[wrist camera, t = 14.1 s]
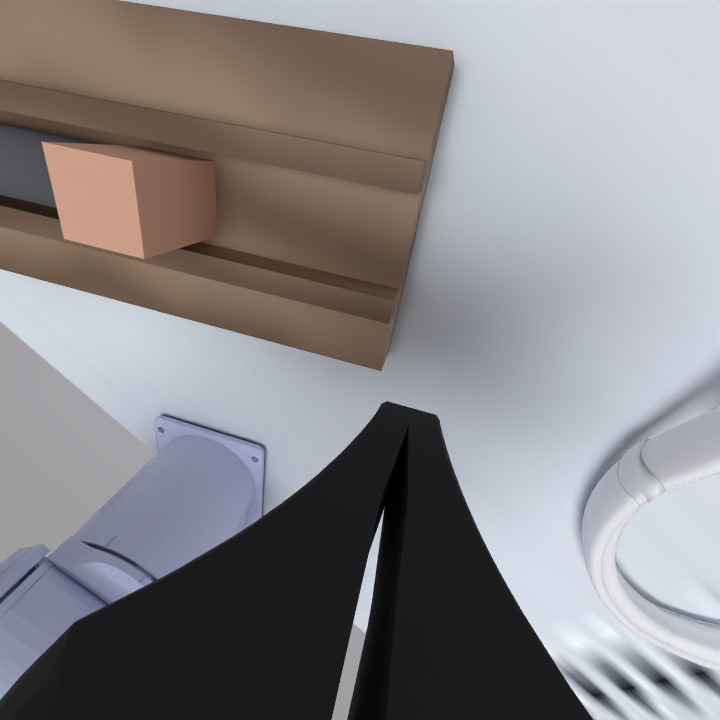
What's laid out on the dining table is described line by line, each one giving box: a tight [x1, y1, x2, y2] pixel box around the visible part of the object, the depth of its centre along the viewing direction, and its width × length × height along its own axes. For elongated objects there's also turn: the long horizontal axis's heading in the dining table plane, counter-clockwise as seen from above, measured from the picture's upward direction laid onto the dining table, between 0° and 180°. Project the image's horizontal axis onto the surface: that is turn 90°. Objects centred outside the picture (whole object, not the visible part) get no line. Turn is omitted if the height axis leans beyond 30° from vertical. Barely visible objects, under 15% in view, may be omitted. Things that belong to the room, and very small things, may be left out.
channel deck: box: [0, 0, 454, 371], centre depth 16 cm, size 12×24×4 cm, turn 81°
